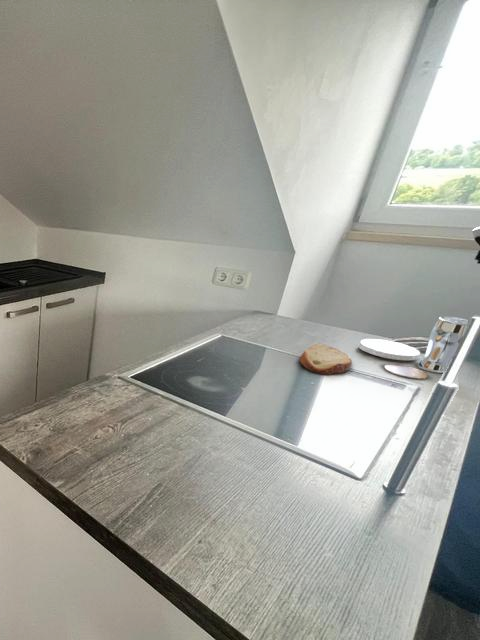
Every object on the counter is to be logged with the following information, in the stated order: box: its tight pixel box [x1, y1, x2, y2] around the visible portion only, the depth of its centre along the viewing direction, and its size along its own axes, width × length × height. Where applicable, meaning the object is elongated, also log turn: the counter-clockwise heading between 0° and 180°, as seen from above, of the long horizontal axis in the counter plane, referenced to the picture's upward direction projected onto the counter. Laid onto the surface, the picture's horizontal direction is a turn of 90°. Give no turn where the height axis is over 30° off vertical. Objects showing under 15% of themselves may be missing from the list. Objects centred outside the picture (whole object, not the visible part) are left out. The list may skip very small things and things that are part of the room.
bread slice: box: [299, 343, 352, 376], centre depth 118 cm, size 18×18×4 cm
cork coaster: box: [383, 363, 429, 380], centre depth 112 cm, size 9×9×1 cm
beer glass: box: [417, 316, 469, 374], centre depth 110 cm, size 7×7×15 cm
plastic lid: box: [358, 338, 421, 362], centre depth 123 cm, size 14×14×2 cm
